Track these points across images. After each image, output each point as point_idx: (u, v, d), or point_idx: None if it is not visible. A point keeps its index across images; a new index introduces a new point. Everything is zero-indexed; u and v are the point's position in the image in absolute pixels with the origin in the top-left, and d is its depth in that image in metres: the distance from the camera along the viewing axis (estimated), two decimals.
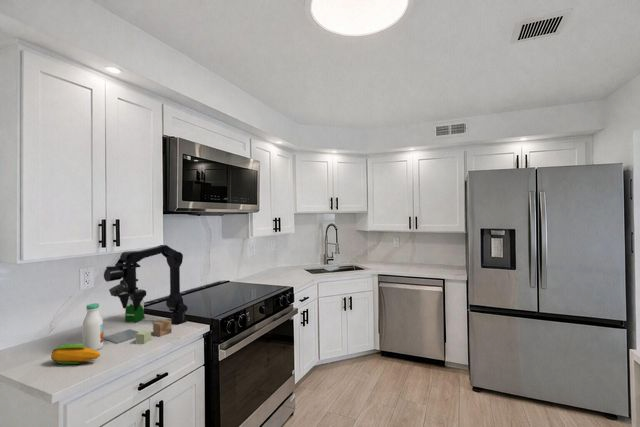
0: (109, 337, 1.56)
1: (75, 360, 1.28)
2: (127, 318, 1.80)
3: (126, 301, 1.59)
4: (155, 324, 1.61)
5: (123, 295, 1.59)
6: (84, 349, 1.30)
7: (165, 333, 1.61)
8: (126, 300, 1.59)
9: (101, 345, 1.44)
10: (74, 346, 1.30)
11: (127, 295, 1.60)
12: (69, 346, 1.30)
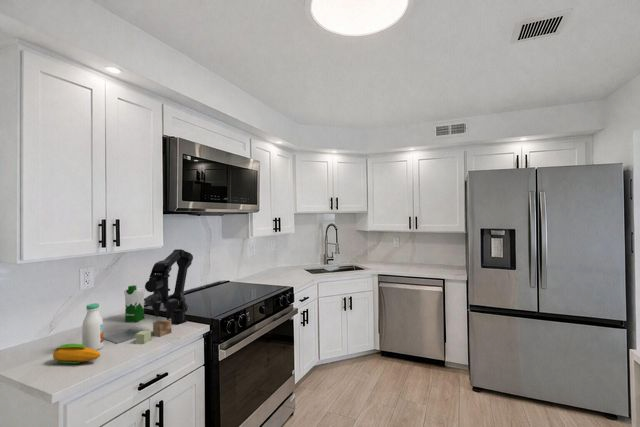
0: (109, 337, 1.56)
1: (76, 360, 1.29)
2: (127, 318, 1.80)
3: (158, 310, 1.66)
4: (155, 324, 1.61)
5: (156, 304, 1.65)
6: (84, 348, 1.31)
7: (165, 333, 1.61)
8: (158, 309, 1.66)
9: (101, 345, 1.44)
10: (75, 346, 1.30)
11: (159, 304, 1.67)
12: (70, 346, 1.30)
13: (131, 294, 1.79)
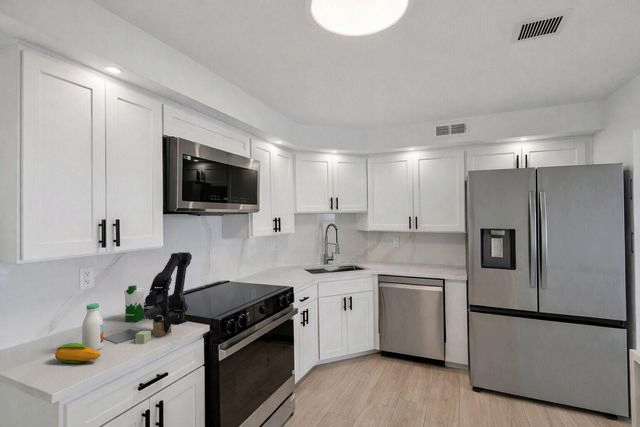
0: (109, 337, 1.56)
1: (76, 359, 1.29)
2: (127, 318, 1.80)
3: None
4: (155, 324, 1.61)
5: (157, 317, 1.64)
6: (85, 348, 1.31)
7: (165, 333, 1.61)
8: None
9: (101, 345, 1.44)
10: (76, 345, 1.31)
11: (161, 317, 1.66)
12: (71, 345, 1.31)
13: (131, 294, 1.79)
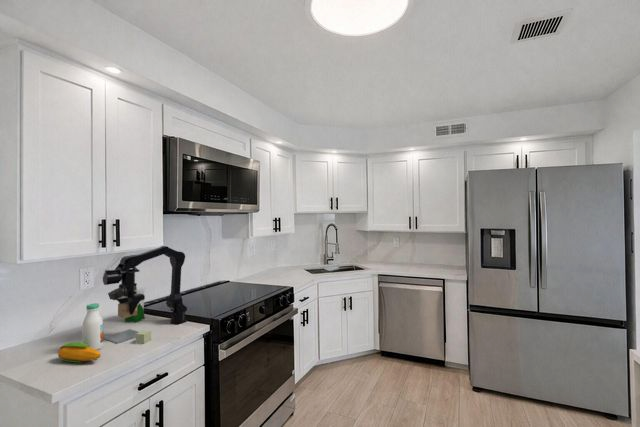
0: (109, 337, 1.56)
1: (77, 359, 1.30)
2: (127, 318, 1.80)
3: None
4: (120, 305, 1.57)
5: (123, 299, 1.61)
6: (86, 348, 1.31)
7: (130, 315, 1.57)
8: None
9: (101, 345, 1.44)
10: (77, 345, 1.31)
11: (127, 299, 1.62)
12: (73, 344, 1.32)
13: None
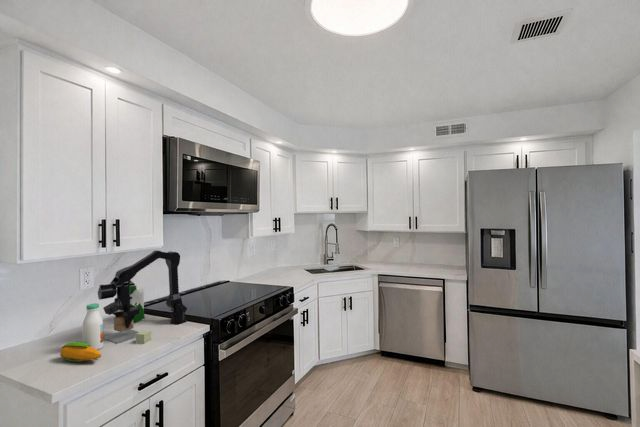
0: (109, 337, 1.56)
1: (78, 358, 1.30)
2: None
3: None
4: (116, 319, 1.57)
5: (119, 313, 1.61)
6: (87, 348, 1.31)
7: (126, 328, 1.57)
8: None
9: (101, 345, 1.44)
10: (79, 344, 1.32)
11: (123, 313, 1.62)
12: (74, 344, 1.32)
13: (131, 294, 1.79)
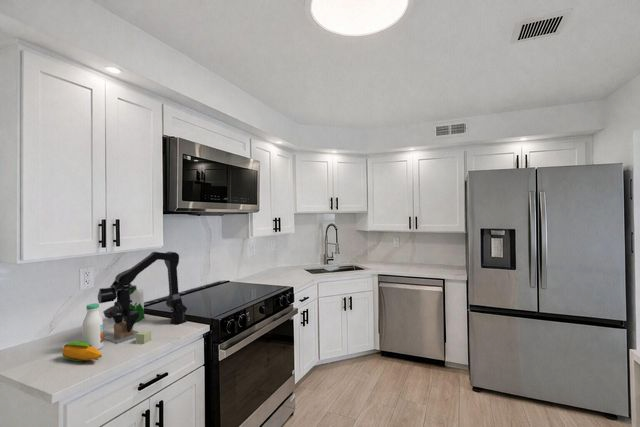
0: (109, 337, 1.56)
1: (79, 358, 1.30)
2: None
3: None
4: (116, 325, 1.57)
5: (118, 316, 1.61)
6: (87, 347, 1.32)
7: (126, 335, 1.57)
8: (120, 321, 1.62)
9: (101, 345, 1.44)
10: (80, 344, 1.32)
11: (121, 316, 1.63)
12: (76, 343, 1.33)
13: (131, 294, 1.79)
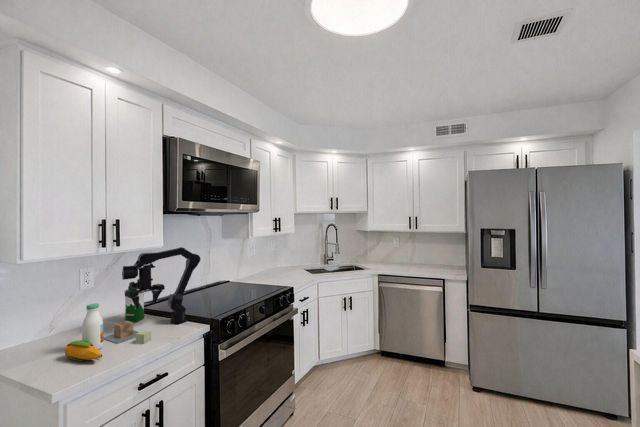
0: (109, 337, 1.56)
1: (80, 358, 1.31)
2: (127, 318, 1.80)
3: (154, 298, 1.73)
4: (116, 325, 1.57)
5: (154, 292, 1.74)
6: (88, 347, 1.32)
7: (126, 335, 1.57)
8: (155, 297, 1.73)
9: (101, 345, 1.44)
10: (81, 343, 1.32)
11: (156, 293, 1.73)
12: (77, 343, 1.33)
13: None
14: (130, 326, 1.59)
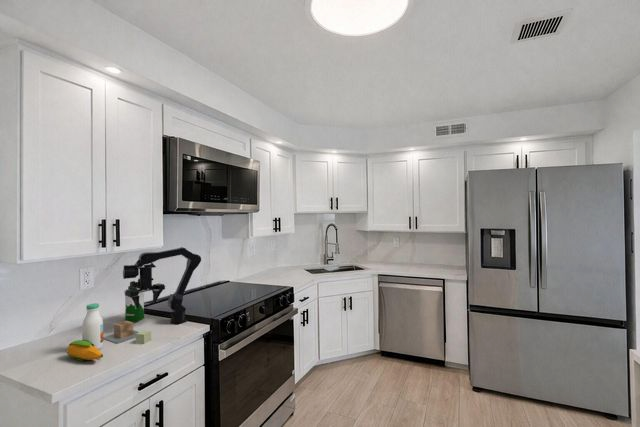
0: (109, 337, 1.56)
1: (81, 357, 1.31)
2: (127, 318, 1.80)
3: (155, 298, 1.73)
4: (116, 325, 1.57)
5: (154, 292, 1.74)
6: (89, 347, 1.32)
7: (126, 335, 1.57)
8: (155, 297, 1.73)
9: (101, 345, 1.44)
10: (82, 343, 1.33)
11: (156, 293, 1.73)
12: (79, 342, 1.34)
13: None
14: (130, 326, 1.59)
